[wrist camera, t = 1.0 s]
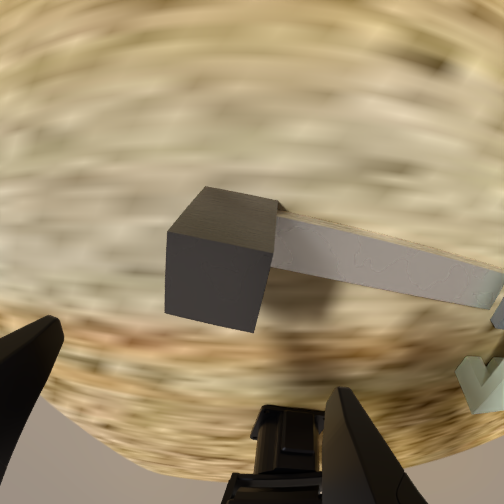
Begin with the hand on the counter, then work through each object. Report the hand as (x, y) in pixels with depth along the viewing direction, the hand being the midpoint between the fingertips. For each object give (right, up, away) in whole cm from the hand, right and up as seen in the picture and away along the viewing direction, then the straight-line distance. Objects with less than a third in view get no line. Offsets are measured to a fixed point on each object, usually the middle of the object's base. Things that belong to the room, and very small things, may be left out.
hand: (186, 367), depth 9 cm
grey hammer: (+9, +3, +9) cm, 13 cm away
